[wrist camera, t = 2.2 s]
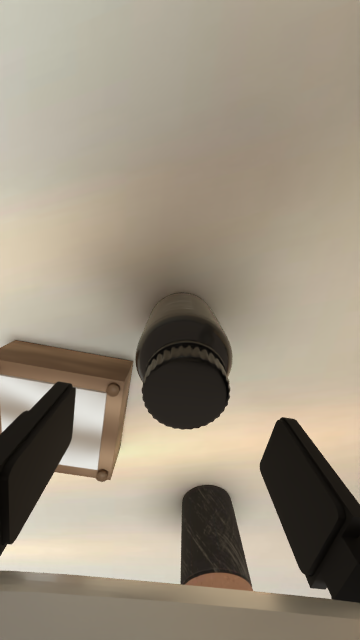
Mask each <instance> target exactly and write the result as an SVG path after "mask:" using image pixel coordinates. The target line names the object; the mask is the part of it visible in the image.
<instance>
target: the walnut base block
mask: <svg viewBox="0 0 360 640" xmlns="http://www.w3.org/2000/svg"><path fill="white" fill-rule="evenodd" d="M132 367H133V361H128V360H123V359H117V358H112V357H106V356H100V355H95V354H89V353H84V352H78V351H73V350H67V349H62V348H56V347H51V346H45V345H39V344H34V343H28V342H23V341H17V340H15V341H13V342H11V343H9V344H7V345H5V346H3V347H1V348H0V434H1V433H2V432H3V431H4V430H5V429H6V428H7V427H8V426H9V425H10V424H11V423H12V422H13V421H14V420H15V419H16V418H17V417H18V416H19V415H20V414H21V413H22V412H24V411H26V410H27V411H29V410H30V409H31V408H32V407H33V406H34V405H35V404H36V403H37V402H38V401H39V400H40V399H41V398H42V397H43V396H44V395H45V394H46V393H47V392H48V391H49V390H50V389H51V387H52V386H53V385H54V384H55V383H56V382H58V381H59V382H66V383H71V384H72V386H73V387H75V388H76V396H75V409H74V421H73V434H72V440H71V443H70V445H69V447H68V449H67V450H66V452H65V454H64V456H63V457H62V459H61V461H60V463H59V464H58V466H57V468H56V470H55V471H54V472H58V473H65V474H72V475H79V476H86V477H93V478H96V479H97V480H98V481H101V482H103V481H106V480H110V479H111V476H112V473H113V469H114V466H115V463H116V460H117V456H118V453H119V450H120V445H121V438H122V432H123V425H124V419H125V412H126V406H127V399H128V393H129V386H130V380H131V373H132Z"/></svg>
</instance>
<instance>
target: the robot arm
mask: <svg viewBox="0 0 360 640" xmlns="http://www.w3.org/2000/svg"><path fill="white" fill-rule="evenodd" d="M75 396H76V388H75V387H73V386H72V384H71V383H66V382H59V381H58V382H56V383H55V384H54V385H53V386H52V387H51V389H50V390H49V391H48V392H47V393H46V394H45V395H44V396H43V397H42V398H41V399H40V400H39V401H38V402H37V403H36V404H35V405H34V406H33V407H32V408H31V409H30V410H29V411H27V410H26V411H24V412H22V413H21V414H20V415H19V416H18V417H17V418H16V419H15V420H14V421H13V422H12V423H11V424H10V425H9V426H8V427H7V428H6V429H5V430H4V431H3V432H2V433H1V434H0V556H1V554H2V552H3V551H4V549H5V547H6V545H7V544H12V543H13V542H14V541H15V540H16V538H17V536H18V535H19V533H20V531H21V529H22V528H23V526H24V524H25V522H26V521H27V519H28V517H29V515H30V514H31V512H32V510H33V508H34V507H35V505H36V503H37V501H38V500H39V498H40V496H41V494H42V493H43V491H44V489H45V487H46V485H47V484H48V482H49V480H50V478H51V477H52V475H53V473H54V471H55V470H56V468H57V466H58V464H59V463H60V461H61V459H62V457H63V456H64V454H65V452H66V450H67V449H68V447H69V445H70V443H71V440H72V434H73V421H74V409H75ZM260 471H261V474H262V477H263V479H264V482H265V484H266V487H267V489H268V492H269V494H270V497H271V499H272V502H273V504H274V506H275V509H276V511H277V514H278V516H279V519H280V521H281V524H282V526H283V529H284V531H285V534H286V536H287V539H288V541H289V544H290V546H291V549H292V551H293V554H294V556H295V559H296V561H297V564H298V566H299V568H300V570H301V572H302V573H303V574H305V576H306V578H307V581H308V583H309V585H310V588H316V589H326V588H328V590H329V592H330V594H331V596H332V599H325V598H315V597H305V596H295V595H285V594H275V593H265V592H255V591H245V590H234V589H224V588H213V587H203V586H192V585H181V584H170V583H159V582H148V581H137V580H125V579H113V578H102V577H90V576H79V575H67V574H51V573H35V572H19V571H0V640H360V504H359V503H358V502H357V500H356V499H355V498H354V496H353V495H352V494H351V492H350V491H349V490H348V488H347V487H346V486H345V484H344V483H343V482H342V480H341V479H340V478H339V476H338V475H337V474H336V472H335V471H334V470H333V468H332V467H331V466H330V464H329V463H328V462H327V460H326V459H325V458H324V456H323V455H322V454H321V452H320V451H319V450H318V448H317V447H316V446H315V444H314V443H313V442H312V440H311V439H310V438H309V437H308V435H307V434H306V433H305V431H304V430H303V429H302V427H301V426H300V425H299V423H298V422H297V421H296V420H295V419H290V418H284V417H282V418H281V419H280V420H278V421H277V422H276V424H275V427H274V429H273V432H272V434H271V437H270V439H269V442H268V444H267V447H266V449H265V452H264V455H263V457H262V460H261V462H260Z"/></svg>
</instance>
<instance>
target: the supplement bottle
mask: <svg viewBox="0 0 360 640" xmlns="http://www.w3.org/2000/svg"><path fill="white" fill-rule="evenodd" d="M136 367H137V371H138V374H139V376H140V378H141V380H142V382H143V387H142V394H143V397H142V398H143V401H144V402H145V407H146V408H147V409H148V412H149V413H150V414H151V415H152V416H153V418H154V419H156V420H158V421H159V423H162V424H164V425H166V426H168V427H172V428H174V429H175V428H179V429H182V430H183V429H193V428H199V427H201V426H205V425H207V424H208V423H210V422H213V421H214V420H215V419H216V418H218V417H219V416H220V414H221V413H222V412H223V411H224V409H225V407H226V406H227V405H228V400H229V398H230V395H229V393H230V386H229V380H228V376H229V373H230V370H231V367H232V350H231V346H230V343H229V341H228V338H227V336H226V334H225V333H224V331H223V329H222V328H221V326H220V324H219V322H218V321H217V319H216V317H215V316H214V314H213V312H212V311H211V309H210V307H209V306H208V305H207V304H206V302H204V301H203V300H202V299H201V298H199V297H197V296H195V295H192V294H189V293H175V294H171V295H169V296H167V297H165V298H163V299H162V300H161V301H159V302H158V303H157V305H156V306H155V307H154V309H153V311H152V313H151V315H150V317H149V319H148V322H147V324H146V326H145V329H144V331H143V333H142V336H141V338H140V341H139V343H138V346H137V351H136Z"/></svg>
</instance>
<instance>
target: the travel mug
mask: <svg viewBox="0 0 360 640" xmlns="http://www.w3.org/2000/svg"><path fill="white" fill-rule="evenodd" d="M181 585H192V586H203V587H213V588H224V589H234V590H245V591H253V589H252V584H251V580H250V576H249V572H248V568H247V564H246V559H245V555H244V551H243V547H242V543H241V538H240V534H239V530H238V526H237V522H236V517H235V513H234V509H233V505H232V502H231V498H230V496H229V494H228V493H227V492H226V491H225V490H223V489H221V488H219V487H216V486H210V485H205V486H199V487H196V488H194V489H192V490H190V491H189V492H188V493H187V494H186V495H185V496H184V499H183V502H182V536H181Z"/></svg>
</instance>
